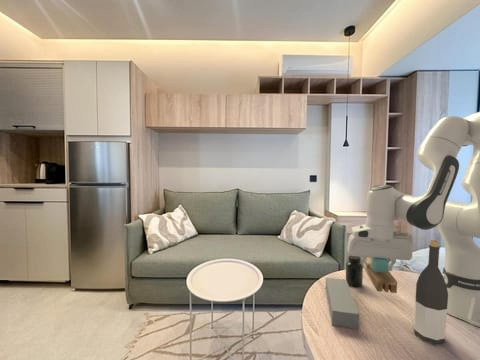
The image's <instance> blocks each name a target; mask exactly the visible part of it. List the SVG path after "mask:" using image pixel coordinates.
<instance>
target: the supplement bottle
mask: <svg viewBox="0 0 480 360" xmlns="http://www.w3.org/2000/svg"><path fill="white" fill-rule="evenodd" d="M361 260H362V258H361V257H359V256H351V255H350V254H349V255H348V259H347V262H346V263H345V280H347V283H348V286H350V287H354V288H358V287H362V286H363V284H364V283H363V278H364V276H363V275H364V268H363V263H361V262H362V261H361Z"/></svg>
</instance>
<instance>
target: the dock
mask: <svg viewBox="0 0 480 360" xmlns="http://www.w3.org/2000/svg"><path fill="white" fill-rule="evenodd" d="M349 286H350V285H348V283H347V280H346V279H341V278H335V277H325V293H326V298H327V305H328V310H329V314H330V321H331V326H336V327H341V328H350V329H357V330H358V329H359V323H360V322H359V320H360V314H359V311H358V308H357V305H356V303H355V299H354V297H353V294H352V292H351V288H350V287H349Z"/></svg>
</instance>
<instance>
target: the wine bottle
mask: <svg viewBox="0 0 480 360" xmlns="http://www.w3.org/2000/svg"><path fill="white" fill-rule="evenodd" d="M428 245H429V246H428V247H429V248H428V249H429V251H428V262H427V266H425V268H424V269H422V271H421V273H420V274H419V275H418V278H417V281H416V285H415V286H416V287H415V299H414V300H415V302H414V319H413V320H414V321H413V330H414V331H413V332H414V335H415V336H416V337H418V338H419V339H420V340H422V341H423V342H426V343H429V344H432V345H434V346H435V345H436V346H437V345H443V344H445V342H446V341H445V340H446V330H447V315H448V313H447V304H448V291H447V286H446V283H445V280H444V278H443V273H442V272H441V270H440V268H439V259H440V249H441V248H440V247H441V246H440V242H439V240H430V243H429V244H428Z"/></svg>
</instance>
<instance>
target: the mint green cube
mask: <svg viewBox="0 0 480 360" xmlns="http://www.w3.org/2000/svg"><path fill="white" fill-rule="evenodd" d="M388 264H389V259H384V258H372V268H373V270H374V271H375V272H383V273H388Z"/></svg>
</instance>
